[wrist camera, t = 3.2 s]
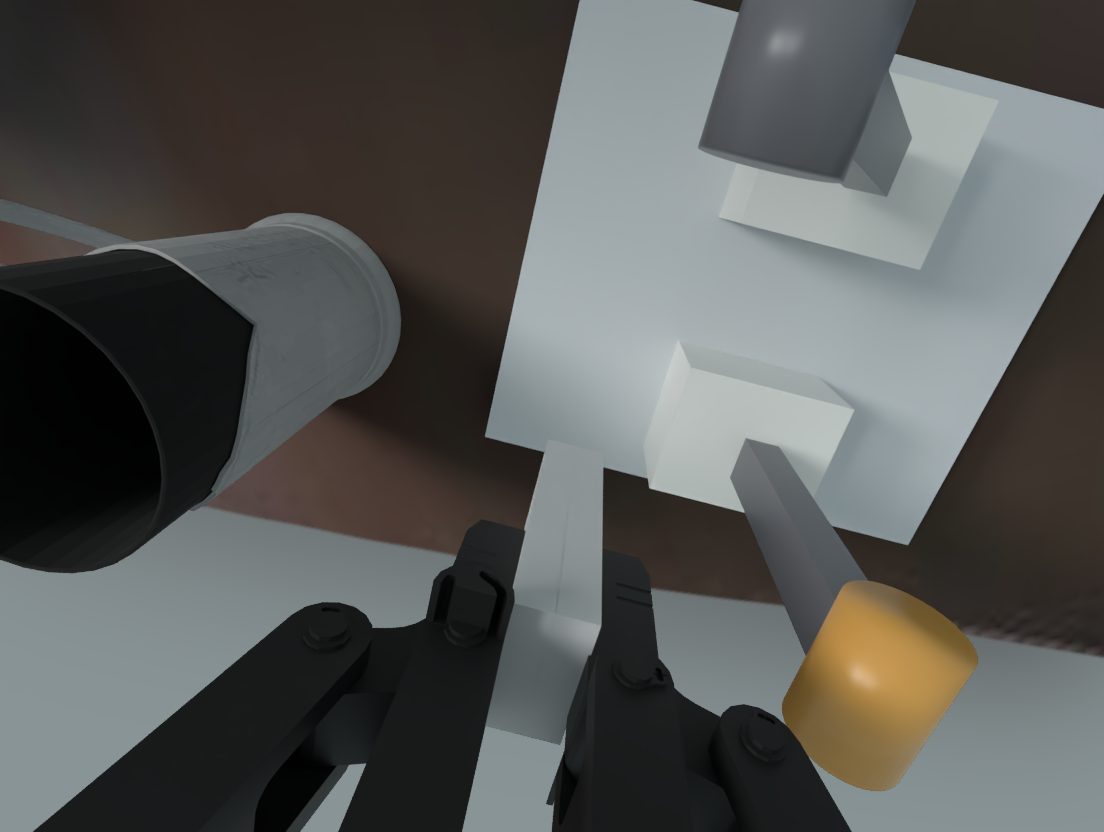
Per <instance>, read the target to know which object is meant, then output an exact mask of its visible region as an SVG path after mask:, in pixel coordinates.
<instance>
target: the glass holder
mask: <svg viewBox="0 0 1104 832" xmlns="http://www.w3.org/2000/svg"><path fill="white" fill-rule="evenodd" d="M0 221H5V222H10V223H14V224H17V225H21V226H25V227H29V228H32V229H36V230H40V231H43V232H47V233H50V234H54V235H57V236H60V237H64V238H67V239H71V240H74V241H77V242H81V243H84V244H87V245H90V246H94V247H97V248H99V249H96V250H94V251H92V252H90V253H88V254H85V255H83V256H77V257H69V258H61V259H54V260H46V261H39V262H31V263H24V264H16V265H5V264H1V263H0V560H3V561H6V562H9V563H12V564H15V565H18V566H21V567H24V568H30V569H35V570H40V571H45V572H58V573H77V572H85V571H94V570H97V569H100V568H103V567H106V566H109V565H113V564H115V563H117V562H119V561H120V560H122V559H124V558H125V557H127V556H129V555H131V554H132V553H133V552H135V551H136V550H138V549H139V548H140V547H141V546H143V545H144V544H145V543H147V542H148V541H149V540H150V539H152V538H153V537H154V536H156V535H157V534H158V533H159V532H161V531H162V530H163V529H165V528H166V527H167V526H168V525H170V524H171V523H172V522H174V521H175V520H176V519H178V518H179V517H180V516H181V515H183V514H184V513H185V512H187V511H188V510H191V511H194V510H196V509H198V508H200V507H202V506H204V505H206V504H207V503H208V502H210V501H211V500H212V499H213V498H215V497H216V496H217V495H218V494H220V493H221V492H222V491H223V490H225V489H226V488H227V487H228V486H230V485H231V484H232V483H233V482H235V481H236V480H237V479H238V478H240V477H241V476H242V475H243V474H245V473H246V472H247V471H248V470H250V469H251V468H252V467H254V466H255V465H256V464H257V463H259V462H260V461H261V460H262V459H264V458H265V457H266V456H267V455H269V454H270V453H271V452H272V451H274V450H275V449H276V448H277V447H279V446H280V445H281V444H282V443H284V442H285V441H286V440H287V439H289V438H290V437H291V436H292V435H294V434H295V433H296V432H297V431H299V430H300V429H301V428H303V427H304V426H305V425H306V424H308V423H309V422H310V421H311V420H313V419H314V418H315V417H316V416H318V415H319V414H320V413H321V412H323V411H324V410H325V409H326V408H328V407H329V406H330V405H331V404H333V403H334V402H335V401H336V400H338V399H342V398H346V397H349V396H352V395H354V394H357V393H359V392H361V391H363V390H364V389H366V388H368V387H369V386H371V385H372V384H373V383H374V382H375V381H376V380H378V379H379V378H380V377H381V376H382V375H383V373H384V372H385V370H386V369H387V368H388V366H389V365H390V363H391V361H392V359H393V357H394V355H395V353H396V350H397V346H398V342H399V338H400V330H401V314H400V304H399V301H398V297H397V293H396V290H395V287H394V284H393V282H392V280H391V278H390V276H389V273H388V271H387V270H386V268H385V267H384V265H383V264H382V262H381V261H380V259H379V258H378V256H377V255H376V254H375V253H374V252H373V251H372V249H371V248H370V247H369V246H368V245H367V244H366V243H365V242H364V241H363V240H361V239H360V238H359V237H358V236H356V235H355V234H354V233H353V232H351V231H350V230H348V229H346V228H345V227H343V226H341V225H339V224H338V223H336V222H333V221H331V220H328V219H325V218H323V217H320V216H315V215H310V214H304V213H284V214H279V215H274V216H269V217H267V218H265V219H262V220H260V221H258V222H256V223H253V224H252V225H251V226H249V227H248V228H247V229H243V230H234V231H226V232H218V233H209V234H201V235H192V236H184V237H176V238H167V239H159V240H151V241H142V242H136V241H133V240H130V239H127V238H124V237H121V236H118V235H116V234H113V233H110V232H107V231H104V230H101V229H98V228H95V227H92V226H89V225H86V224H83V223H79V222H76V221H73V220H70V219H67V218H64V217H61V216H58V215H55V214H52V213H49V212H45V211H42V210H39V209H36V208H32V207H29V206H26V205H22V204H19V203H16V202H12V201H7V200H3V199H0Z"/></svg>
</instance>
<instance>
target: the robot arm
mask: <svg viewBox="0 0 1104 832" xmlns="http://www.w3.org/2000/svg"><path fill="white" fill-rule="evenodd" d="M602 527H603V454H602V453H599V452H595V451H591V450H587V449H583V448H579V447H575V446H572V445H568V444H564V443H560V442H556V441H552V440H548V441H547V445H546V449H545V453H544V456H543V460H542V464H541V468H540V472H539V475H538V479H537V483H536V487H535V490H534V494H533V498H532V502H531V506H530V509H529V513H528V517H527V521H526V524H525V528H524V530H521V529H517V528H513V527H509V526H505V525H501V524H497V523H494V522H490V521H486V520H480V521H479V522H478V523H476V524H475V525H474V526H472V527H471V528H469V529H468V530H467V532H466V535H465V537H464V540H463V542H462V545H461V547H460V550H459V552H458V555H457V557H456V560H455V562H454V565H453V566H451V567H449V568H447V569H445V570H443V571H441V572H440V573H439V574H438V576H437V577H436V578H435V579H434V581H433V586H432V591H431V596H430V601H429V606H428V610H427V615H426V619H424V620H422V621H420V622H418V623H416V624H413V625H409V626H405V627H397V628H372V624H371V623H370V621H369V619H368V618H367V616H366V615H365V614H364V613H362V612H361V611H360V610H358V609H357V608H355V607H353V606H349V605H346V604H342V603H328V602H325V603H324V602H322V603H319V604H314V605H310V606H306V607H304V608H303V609H301V610H299V611H297V612H296V613H294V614H292V615H291V616H290V617H289V618H287V620H285V621H284V622H283V623H282V624H280V625H279V626H278V627H277V628H276V629H274V630H273V631H272V632H271V633H269V634H268V635H267V636H266V637H265V638H264V639H262V640H261V641H260V642H259V643H258V644H256V645H255V646H254V647H253V648H252V649H250V650H249V651H248V652H247V653H246V654H244V655H243V656H242V657H241V658H240V659H239V660H237V661H236V662H235V663H234V664H233V665H231V667H229V668H228V669H227V670H225V671H224V672H223V673H222V674H221V675H219V676H218V677H217V678H216V679H215V680H214V681H212V682H211V683H210V684H209V685H207V686H206V687H205V688H204V689H203V690H201V691H200V692H199V693H198V694H197V695H196V696H194V697H193V698H192V699H191V700H190V701H188V702H187V703H186V704H185V705H184V706H182V707H181V708H180V709H179V710H178V711H176V712H175V713H174V714H173V715H172V716H170V717H169V718H168V719H167V720H166V721H165V722H163V723H162V724H161V725H160V726H159V727H157V728H156V729H155V730H154V731H153V732H152V733H150V734H149V735H148V736H147V737H146V738H144V739H143V740H142V741H141V742H139V743H138V744H137V745H136V746H135V747H133V748H132V749H131V750H130V751H129V752H128V753H127V754H125V755H124V756H123V757H122V758H120V759H119V760H118V761H117V762H116V763H114V764H113V765H112V766H111V767H110V768H109V769H107V770H106V771H105V772H104V773H102V774H101V775H100V776H99V777H98V778H97V779H95V780H94V781H93V782H92V783H91V784H89V785H88V786H87V787H86V788H85V789H83V790H82V791H81V792H80V793H79V794H77V795H76V796H75V797H74V798H73V799H71V800H70V801H69V802H68V803H67V804H66V805H64V806H63V807H62V808H61V809H60V810H59V811H57V812H56V813H55V814H54V815H52V816H51V817H50V818H49V819H48V820H47V821H45V822H44V823H43V824H42V825H40V826H39V827H38V828H37V829H36V830H34V831H33V832H300V831H301V829H302V828H303V827H304V826H305V824H306V823H307V822H308V820H309V819H310V818H311V816H312V815H313V814H314V812H315V811H316V810H317V808H318V807H319V806H320V804H321V803H322V802H323V800H324V799H325V798H326V797H327V795H328V794H329V792H330V791H331V790H332V789H333V787H334V786H335V784H336V783H337V782H338V781H339V779H340V778H341V777H342V775H343V774H344V772H345V771H346V770H347V767H348V765H351V764H363V763H367V764H366V766H365V768H364V771H363V773H362V776H361V778H360V781H359V783H358V785H357V788H356V790H355V793H354V796H353V797H352V800H351V802H350V805H349V807H348V810H347V812H346V815H345V817H344V819H343V822H342V824H341V827H340V829H339V831H338V832H462V829H463V824H464V820H465V815H466V810H467V806H468V802H469V797H470V793H471V788H472V784H473V779H474V775H475V770H476V766H477V761H478V757H479V752H480V747H481V743H482V739H483V734H484V729H485V726H488V727H492V728H496V729H500V730H504V731H508V732H512V733H516V734H520V735H523V736H527V737H531V738H535V739H539V740H543V741H547V742H551V743H555V744H559V745H560V743H561V741H562V738H563V735H564V732H565V729H566V738H565V750H564V754H563V756H562V759H561V762H560V765H559V767H558V770H557V773H556V776H555V779H554V782H553V784H552V787H551V790H550V793H549V796H548V800H547V803H546V804H548V805H553V803H554V811H553V823H552V832H852V831H851V830H850V828H849V826H848V825H847V823H846V821H845V820H844V818H843V816H842V814H841V813H840V811H839V809H838V807H837V806H836V804H835V802H834V800H833V799H832V797H831V795H830V793H829V792H828V790H827V788H826V787H825V785H824V783H823V781H822V780H821V778H820V776H819V774H818V773H817V771H816V769H815V767H814V766H813V764H812V762H811V760H810V759H809V757H808V755H807V754H806V752H805V750H804V748H803V747H802V745H801V743H800V742H799V740H798V739H797V738H796V736H795V735H794V734H793V733H792V731H791V730H790V729H789V728H788V727H787V726H786V725H785V724H784V723H782V722H781V721H780V720H779V719H778V718H776V717H775V716H774V715H772V714H770V713H768V712H766V711H764V710H762V709H760V708H758V707H753V706H749V705H744V704H743V705H736V706H731V707H729V708H728V709H727V710H726V711H725V712H723V714H722V716H721V717H719V716H717V715H716V714H714V713H712V712H710V711H708V710H706V709H704V708H702V707H701V706H699V705H697V704H695V703H693V702H692V701H690V700H689V699H687V698H686V697H684V696H683V695H682V694H681V693H679V692H678V691H677V690H676V689H675V688H674V683H673V680H672V677H671V674H670V672H669V670H668V669H667V668H666V667H665V665H664V664H663V663H662V662H661V660H660V659H659V658H658V650H657V641H656V632H655V622H654V613H653V609H652V605H653V604H652V595H651V586H650V577H649V574H648V572H647V571H646V569H645V568H644V566H643V564H642V563H641V561H640V560H639V558H636V557H632V556H628V555H624V554H620V553H617V552H613V551H609V550H605V549H602Z"/></svg>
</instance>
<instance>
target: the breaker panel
mask: <svg viewBox="0 0 1104 832" xmlns="http://www.w3.org/2000/svg"><path fill="white" fill-rule="evenodd" d="M738 14H739V13H738V12H735V11H731V10H727V9H723V8H719V7H716V6H712V5H708V4H704V3H701V2H697V1H693V0H580V2H579V6H578V11H577V15H576V20H575V24H574V29H573V34H572V38H571V43H570V47H569V52H568V57H567V61H566V66H565V70H564V75H563V80H562V84H561V89H560V93H559V98H558V103H557V107H556V112H555V116H554V121H553V126H552V130H551V135H550V139H549V144H548V149H547V153H546V158H545V162H544V167H543V172H542V176H541V181H540V185H539V190H538V195H537V199H536V204H535V208H534V213H533V218H532V222H531V227H530V231H529V236H528V241H527V245H526V250H525V254H524V259H523V264H522V268H521V273H520V277H519V282H518V287H517V291H516V296H515V300H514V305H513V310H512V314H511V319H510V323H509V328H508V333H507V337H506V342H505V346H504V351H503V356H502V360H501V365H500V369H499V374H498V379H497V383H496V388H495V392H494V397H493V402H492V406H491V411H490V415H489V420H488V425H487V429H486V434H485V437H488V438H491V439H495V440H499V441H503V442H507V443H511V444H515V445H519V446H523V447H527V448H530V449H534V450H538V451H542V452H545V449H546V445H547V441H548V440H552V441H556V442H560V443H564V444H568V445H572V446H575V447H579V448H583V449H587V450H591V451H595V452H599V453H602V454H603V467H605V468H608V469H612V470H616V471H620V472H624V473H628V474H632V475H636V476H640V477H644V478H648V483H649V488H650V489H654V490H658V491H662V492H666V493H670V494H674V495H677V496H681V497H685V498H689V499H693V500H697V501H701V502H705V503H709V504H713V505H716V506H720V507H724V508H728V509H732V510H736V511H740V512H744V509H743V507H742V505H741V502H740V500H739V498H738V495H737V493H736V491H735V488H734V486H733V484H732V481H731V479H730V476H731V473H732V471H733V468H734V466H735V464H736V461H737V459H738V456H739V454H740V451H741V449H742V446H743V444H744V441H745V439H746V438H748V439H751V440H755V441H759V442H763V443H767V444H771V445H775V446H779V447H780V449H781V450H782V452H783V453H784V455H785V456H786V458H787V459H788V461H789V462H790V464H791V465H792V467H793V469H794V470H795V472H796V473H797V475H798V476H799V478H800V479H801V481H802V482H803V484H804V485H805V487H806V488H807V490H808V491H809V493H810V494H811V496H812V497H813V499H814V500H815V502H816V503H817V505H818V506H819V508H820V509H821V511H822V512H823V514H824V515H825V517H826V518H827V520H828V521H829V523H830V524H831V526H835V527H839V528H843V529H847V530H850V531H854V532H858V533H862V534H866V535H870V536H874V537H878V538H882V539H886V540H889V541H893V542H897V543H901V544H905V545H908V544H909V542H910V541H911V539H912V537H913V535H914V533H915V532H916V530H917V528H918V526H919V524H920V523H921V521H922V519H923V517H924V515H925V514H926V512H927V510H928V508H929V506H930V505H931V503H932V501H933V499H934V498H935V496H936V494H937V492H938V490H939V489H940V487H941V485H942V483H943V481H944V480H945V478H946V476H947V474H948V472H949V471H950V469H951V467H952V465H953V463H954V462H955V460H956V458H957V456H958V454H959V453H960V451H961V449H962V447H963V445H964V444H965V442H966V440H967V438H968V436H969V435H970V433H971V431H972V429H973V427H974V426H975V424H976V422H977V420H978V418H979V417H980V415H981V413H982V411H983V409H984V408H985V406H986V404H987V402H988V400H989V399H990V397H991V395H992V393H993V391H994V390H995V388H996V386H997V384H998V382H999V381H1000V379H1001V377H1002V375H1003V373H1004V372H1005V370H1006V368H1007V366H1008V364H1009V363H1010V361H1011V359H1012V357H1013V355H1014V354H1015V352H1016V350H1017V348H1018V346H1019V345H1020V343H1021V341H1022V339H1023V338H1024V336H1025V334H1026V332H1027V330H1028V329H1029V327H1030V325H1031V323H1032V321H1033V320H1034V318H1035V316H1036V314H1037V312H1038V311H1039V309H1040V307H1041V305H1042V303H1043V302H1044V300H1045V298H1046V296H1047V294H1048V293H1049V291H1050V289H1051V287H1052V285H1053V284H1054V282H1055V280H1056V278H1057V276H1058V275H1059V273H1060V271H1061V269H1062V267H1063V266H1064V264H1065V262H1066V260H1067V258H1068V257H1069V255H1070V253H1071V251H1072V249H1073V248H1074V246H1075V244H1076V242H1077V240H1078V239H1079V237H1080V235H1081V233H1082V231H1083V230H1084V228H1085V226H1086V224H1087V222H1088V221H1089V219H1090V217H1091V215H1092V213H1093V212H1094V210H1095V208H1096V206H1097V204H1098V203H1099V201H1100V199H1101V197H1102V195H1103V194H1104V109H1102V108H1098V107H1094V106H1091V105H1087V104H1083V103H1079V102H1075V101H1072V100H1068V99H1064V98H1060V97H1057V96H1053V95H1049V94H1045V93H1041V92H1038V91H1034V90H1030V89H1026V88H1022V87H1019V86H1015V85H1011V84H1007V83H1003V82H1000V81H996V80H992V79H988V78H985V77H981V76H977V75H973V74H969V73H966V72H962V71H958V70H954V69H950V68H947V67H943V66H939V65H935V64H932V63H928V62H924V61H920V60H916V59H913V58H909V57H905V56H901V55H897V54H895V55H894V58H893V60H892V63H891V65H890V68H889V73H890V76H891V78H892V81H893V84H894V87H895V90H896V93H897V96H898V99H899V102H900V104H901V107H902V110H903V113H904V116H905V119H906V122H907V125H908V128H909V130H910V133H911V136H912V140H911V142H910V144H909V147H908V149H907V151H906V154H905V156H904V158H903V161H902V163H901V165H900V168H899V170H898V172H897V175H896V177H895V179H894V182H893V184H892V186H891V189H890V191H889V193H888V196H887V197H885V196H881V195H876V194H872V193H867V192H862V191H858V190H853V189H848V188H845V187H843V186H842V185H841V184H840V183H827V182H819V181H813V180H807V179H802V178H797V177H792V176H787V175H783V174H778V173H774V172H769V171H765V170H761V169H757V168H753V167H750V166H746V165H742V164H739V163H735V162H732V161H728V160H725V159H722V158H719V157H716V156H713V155H711V154H708V153H706V152H703V151H701V150H700V149H698V145H699V142H700V138H701V135H702V132H703V129H704V125H705V122H706V119H707V115H708V112H709V109H710V106H711V102H712V99H713V96H714V92H715V89H716V86H717V83H718V79H719V76H720V73H721V70H722V66H723V63H724V60H725V56H726V53H727V50H728V47H729V43H730V40H731V37H732V33H733V30H734V27H735V24H736V20H737V17H738ZM744 513H745V512H744Z"/></svg>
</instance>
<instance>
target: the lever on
mask: <svg viewBox="0 0 1104 832" xmlns="http://www.w3.org/2000/svg"><path fill="white" fill-rule="evenodd" d="M915 3H916V0H743V1H742V4H741V7H740V10H739V14H738V17H737V20H736V24H735V27H734V30H733V33H732V37H731V40H730V43H729V47H728V50H727V53H726V56H725V60H724V63H723V66H722V70H721V73H720V76H719V79H718V83H717V86H716V89H715V92H714V96H713V99H712V102H711V106H710V109H709V112H708V115H707V119H706V122H705V125H704V129H703V132H702V135H701V138H700V142H699V145H698V149H700V150H701V151H703V152H706V153H708V154H711V155H713V156H716V157H719V158H722V159H725V160H728V161H732V162H735V163H739V164H742V165H746V166H750V167H753V168H757V169H761V170H765V171H769V172H774V173H778V174H783V175H787V176H792V177H797V178H802V179H807V180H813V181H819V182H827V183H840V184H841V185H842V186H843V187H845V188H848V189H853V190H858V191H862V192H867V193H872V194H876V195H881V196H885V197H887V196H888V193H889V191H890V189H891V186H892V184H893V182H894V179H895V177H896V175H897V172H898V170H899V168H900V165H901V163H902V161H903V158H904V156H905V154H906V151H907V149H908V147H909V144H910V142H911V140H912V136H911V133H910V130H909V128H908V125H907V122H906V119H905V116H904V113H903V110H902V107H901V104H900V102H899V99H898V96H897V93H896V90H895V87H894V84H893V81H892V78H891V76H890V73H889V68H890V65H891V63H892V60H893V58H894V55H895V53H896V50H897V48H898V45H899V43H900V40H901V38H902V35H903V33H904V30H905V28H906V25H907V23H908V20H909V18H910V15H911V13H912V10H913V8H914V5H915Z"/></svg>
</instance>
